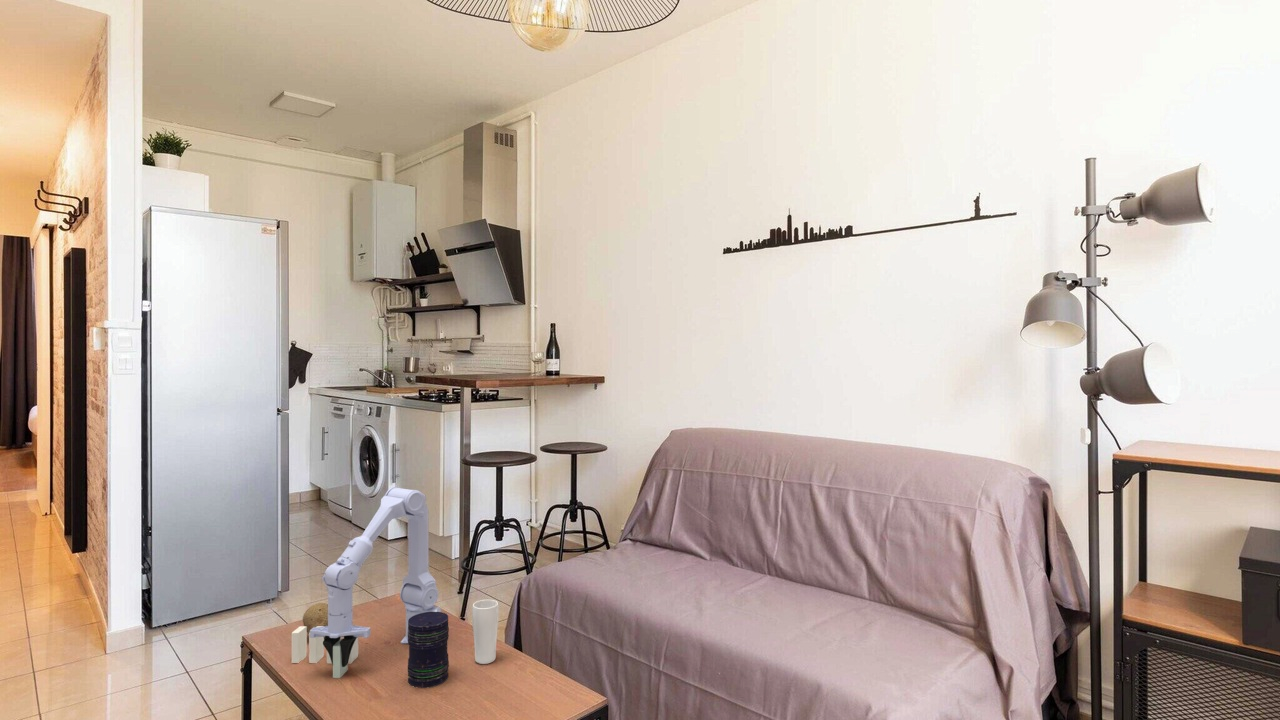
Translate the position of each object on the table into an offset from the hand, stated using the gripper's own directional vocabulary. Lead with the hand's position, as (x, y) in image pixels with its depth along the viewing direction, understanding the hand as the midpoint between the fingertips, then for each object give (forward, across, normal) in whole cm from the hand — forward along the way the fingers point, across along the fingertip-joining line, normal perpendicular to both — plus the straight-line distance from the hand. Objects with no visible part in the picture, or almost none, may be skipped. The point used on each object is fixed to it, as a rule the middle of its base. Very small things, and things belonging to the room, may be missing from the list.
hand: (340, 665), depth 170 cm
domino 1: (+2, -14, +8) cm, 17 cm away
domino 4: (+2, 0, 0) cm, 2 cm away
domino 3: (+2, -5, +8) cm, 10 cm away
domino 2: (+2, -10, +8) cm, 13 cm away
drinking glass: (+2, +35, +8) cm, 36 cm away
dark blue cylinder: (+2, +23, -2) cm, 23 cm away
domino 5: (+2, -1, +8) cm, 8 cm away
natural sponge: (+2, -15, +22) cm, 26 cm away
